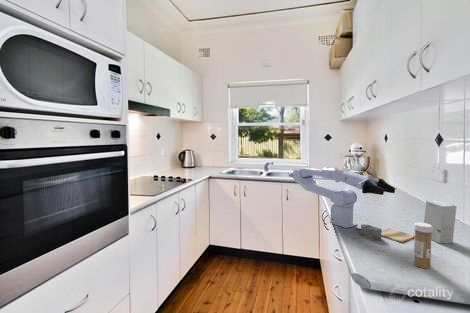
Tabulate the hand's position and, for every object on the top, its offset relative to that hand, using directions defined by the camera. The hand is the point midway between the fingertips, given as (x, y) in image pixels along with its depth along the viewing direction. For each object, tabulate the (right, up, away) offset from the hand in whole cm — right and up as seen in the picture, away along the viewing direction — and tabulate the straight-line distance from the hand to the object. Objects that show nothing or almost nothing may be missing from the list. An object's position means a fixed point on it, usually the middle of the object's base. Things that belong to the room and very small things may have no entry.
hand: (389, 191), depth 101 cm
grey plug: (-6, -19, +5) cm, 21 cm away
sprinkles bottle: (-1, -21, -19) cm, 29 cm away
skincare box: (+20, -19, 0) cm, 27 cm away
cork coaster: (+5, -19, +5) cm, 20 cm away
